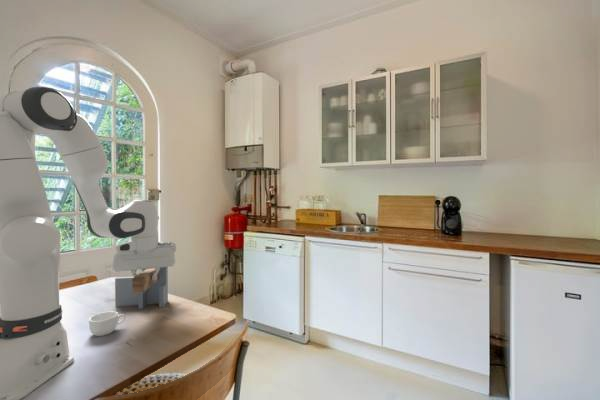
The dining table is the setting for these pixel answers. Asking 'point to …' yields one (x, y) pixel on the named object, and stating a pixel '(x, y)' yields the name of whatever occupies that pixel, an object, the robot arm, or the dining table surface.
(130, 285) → the stepped grey building model
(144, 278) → the wooden block
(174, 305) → the dining table surface
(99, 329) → the teacup
